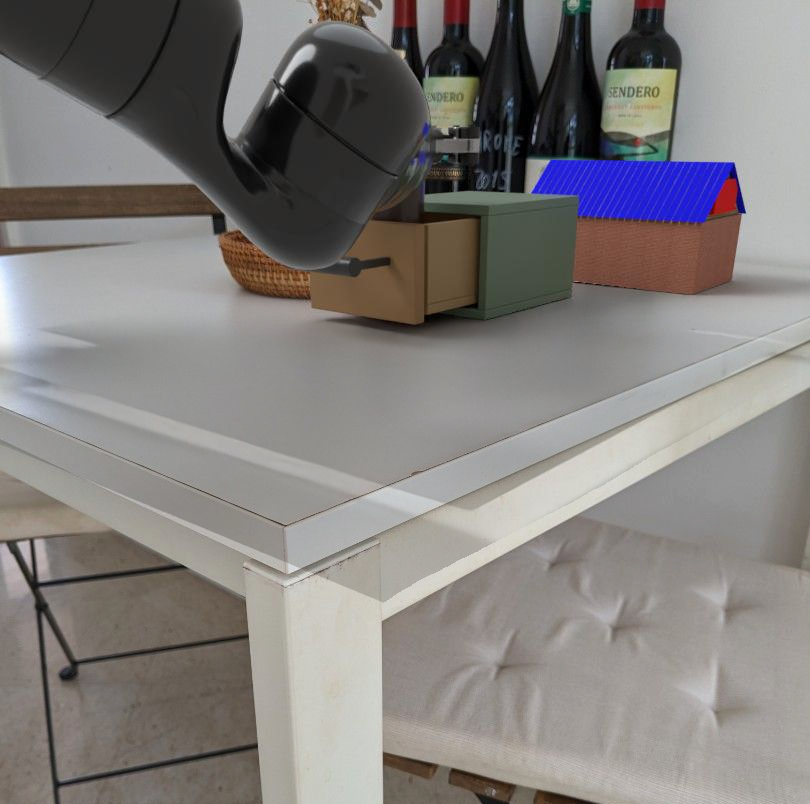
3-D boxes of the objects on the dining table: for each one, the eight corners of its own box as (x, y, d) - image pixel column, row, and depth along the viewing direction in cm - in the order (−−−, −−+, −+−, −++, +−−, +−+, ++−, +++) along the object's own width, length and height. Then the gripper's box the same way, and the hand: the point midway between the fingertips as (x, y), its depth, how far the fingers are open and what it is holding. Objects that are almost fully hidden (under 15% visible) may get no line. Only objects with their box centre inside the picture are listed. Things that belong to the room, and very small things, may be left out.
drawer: (372, 335, 63) (370, 230, 60) (268, 317, 70) (261, 221, 66) (510, 300, 76) (515, 212, 73) (411, 288, 82) (411, 206, 79)
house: (568, 264, 103) (576, 158, 98) (735, 279, 92) (754, 160, 86) (516, 276, 94) (522, 161, 89) (694, 295, 83) (712, 164, 78)
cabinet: (485, 320, 72) (489, 205, 68) (373, 303, 80) (371, 199, 76) (571, 296, 83) (579, 195, 79) (465, 284, 90) (468, 190, 86)
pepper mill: (358, 295, 72) (353, 109, 66) (393, 288, 75) (391, 110, 69) (400, 301, 69) (398, 108, 63) (435, 294, 72) (436, 109, 66)
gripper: (265, 210, 57) (315, 194, 72) (481, 210, 55) (485, 194, 71) (256, 82, 53) (310, 94, 69) (485, 79, 52) (489, 91, 67)
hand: (399, 144), depth 70 cm, fingers closed on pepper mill, 4 cm apart
